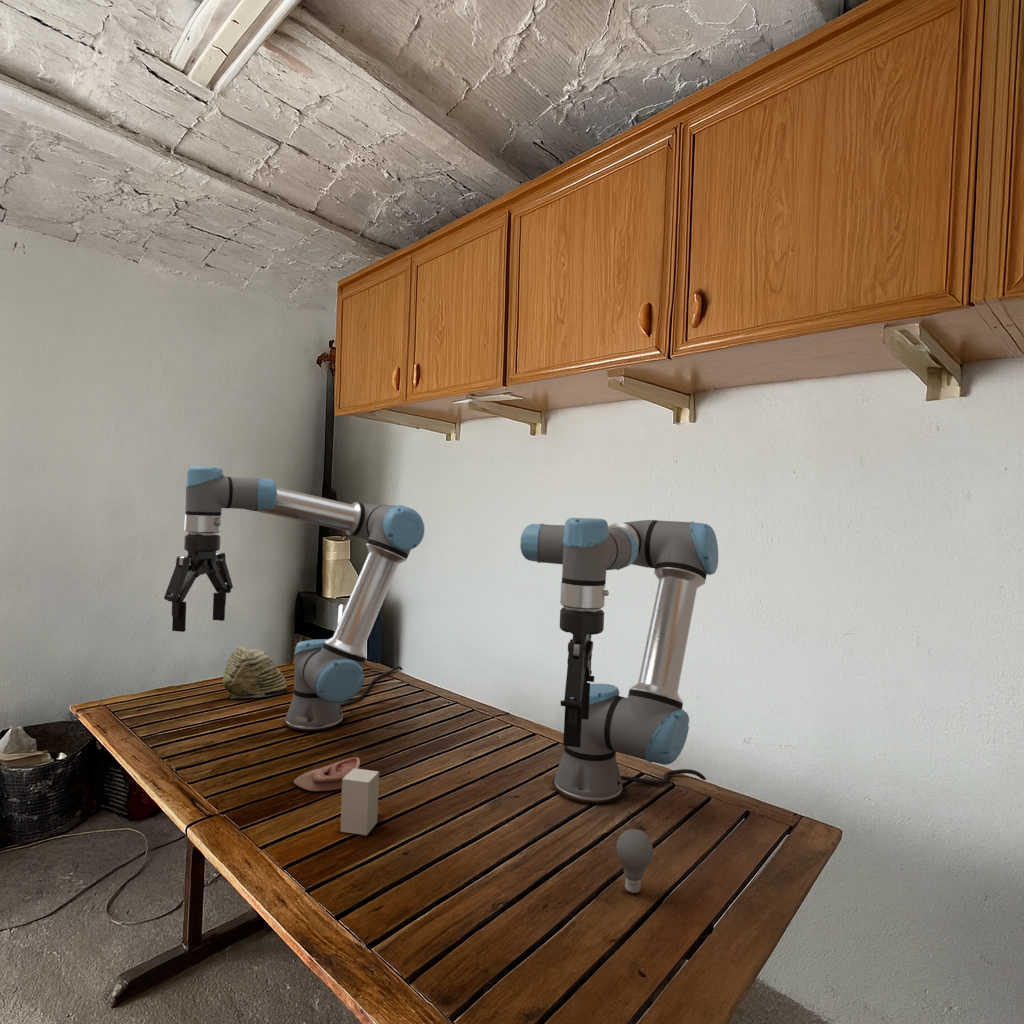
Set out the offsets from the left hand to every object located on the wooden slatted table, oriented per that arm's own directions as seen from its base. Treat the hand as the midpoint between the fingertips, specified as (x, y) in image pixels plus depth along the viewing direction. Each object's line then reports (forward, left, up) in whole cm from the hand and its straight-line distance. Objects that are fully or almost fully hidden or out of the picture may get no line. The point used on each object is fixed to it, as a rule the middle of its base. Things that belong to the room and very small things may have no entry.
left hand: (199, 625), depth 146 cm
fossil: (-36, -37, -32) cm, 61 cm away
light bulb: (-26, +99, -32) cm, 108 cm away
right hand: (-23, +89, -7) cm, 92 cm away
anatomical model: (-16, +29, -32) cm, 46 cm away
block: (-8, +50, -32) cm, 60 cm away
